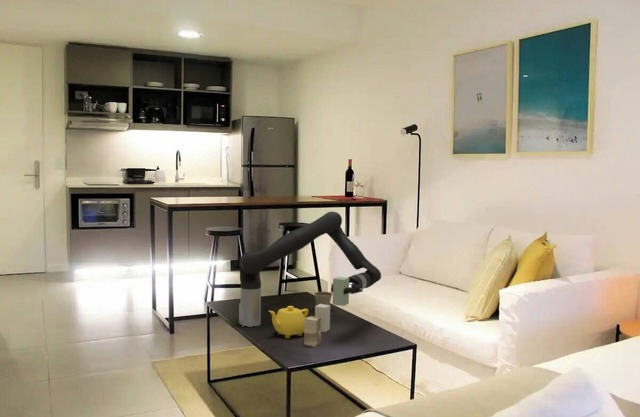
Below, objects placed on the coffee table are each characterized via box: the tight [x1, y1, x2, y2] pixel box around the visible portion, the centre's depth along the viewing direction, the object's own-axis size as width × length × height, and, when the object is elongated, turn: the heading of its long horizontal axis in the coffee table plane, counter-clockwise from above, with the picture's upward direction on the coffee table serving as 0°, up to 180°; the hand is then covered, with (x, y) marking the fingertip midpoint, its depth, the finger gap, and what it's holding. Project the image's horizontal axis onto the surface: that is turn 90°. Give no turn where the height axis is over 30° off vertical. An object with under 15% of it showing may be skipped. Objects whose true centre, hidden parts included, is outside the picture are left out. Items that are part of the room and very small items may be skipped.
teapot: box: [268, 305, 309, 339], centre depth 243 cm, size 13×20×12 cm
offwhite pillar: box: [314, 304, 331, 333], centre depth 251 cm, size 5×5×11 cm
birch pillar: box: [303, 315, 322, 348], centre depth 230 cm, size 5×5×11 cm
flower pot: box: [313, 291, 333, 306], centre depth 284 cm, size 9×9×9 cm
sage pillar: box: [332, 276, 350, 307], centre depth 234 cm, size 5×5×11 cm
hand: (338, 291), depth 232 cm, fingers closed on sage pillar, 5 cm apart
